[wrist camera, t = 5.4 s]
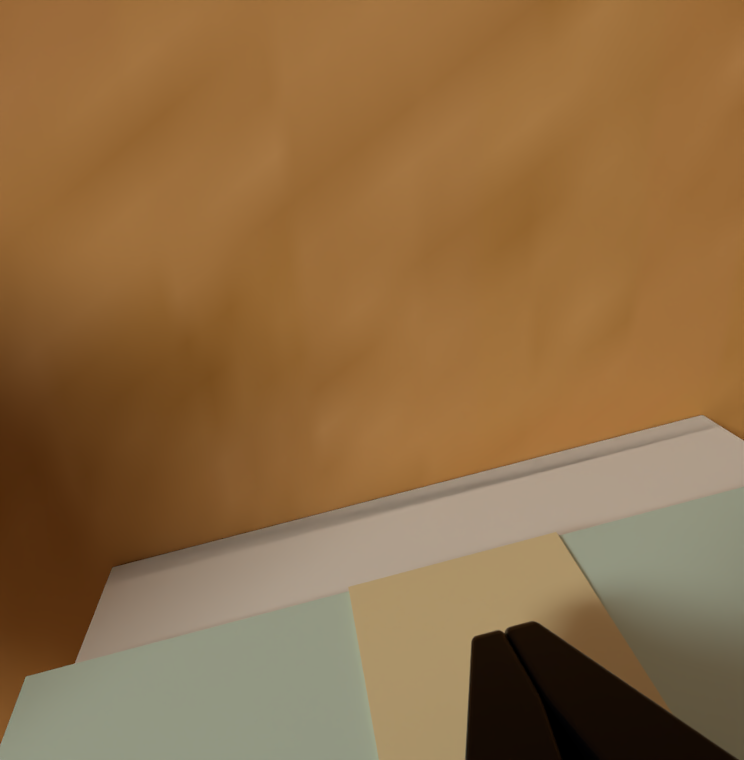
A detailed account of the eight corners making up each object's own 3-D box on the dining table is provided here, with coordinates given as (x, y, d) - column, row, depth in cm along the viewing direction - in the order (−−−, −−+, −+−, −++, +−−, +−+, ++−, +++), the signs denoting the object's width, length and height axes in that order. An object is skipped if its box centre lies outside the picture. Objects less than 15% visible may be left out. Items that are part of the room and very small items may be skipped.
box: (702, 415, 19) (844, 503, 14) (717, 651, 22) (841, 792, 17) (112, 567, 18) (54, 715, 13) (203, 793, 21) (181, 984, 16)
